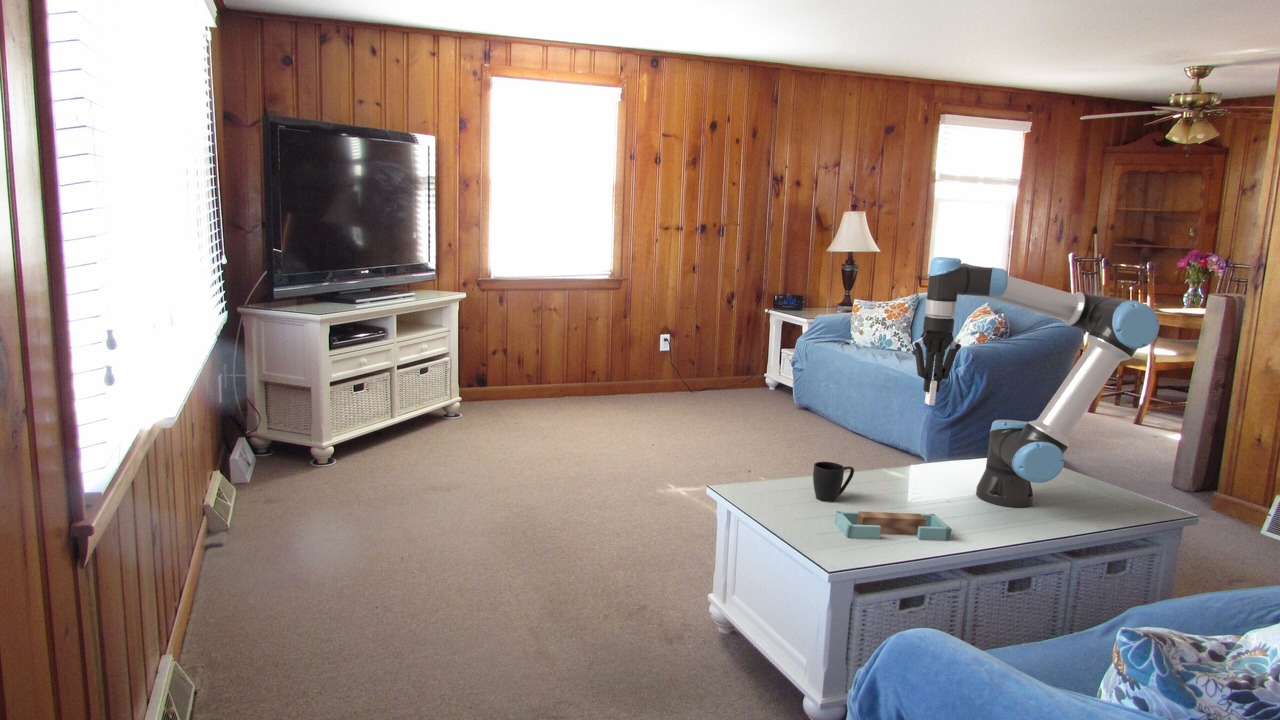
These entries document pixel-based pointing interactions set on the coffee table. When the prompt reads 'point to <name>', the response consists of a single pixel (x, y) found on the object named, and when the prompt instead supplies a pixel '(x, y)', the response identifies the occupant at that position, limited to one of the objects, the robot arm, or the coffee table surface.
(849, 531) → the cap
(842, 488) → the mug
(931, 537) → the teal staple arch
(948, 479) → the coffee table surface
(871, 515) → the slat
